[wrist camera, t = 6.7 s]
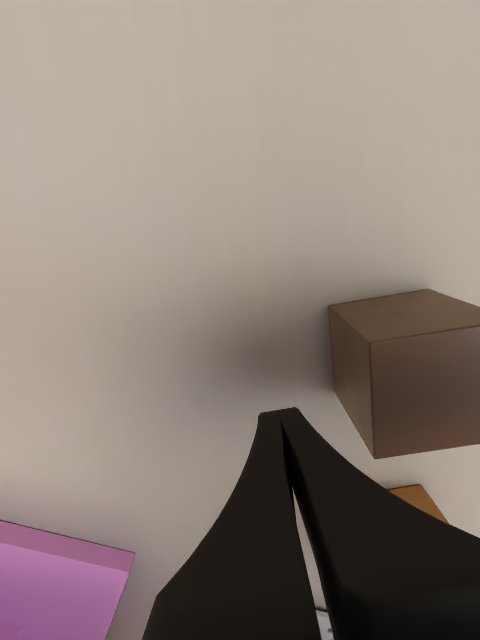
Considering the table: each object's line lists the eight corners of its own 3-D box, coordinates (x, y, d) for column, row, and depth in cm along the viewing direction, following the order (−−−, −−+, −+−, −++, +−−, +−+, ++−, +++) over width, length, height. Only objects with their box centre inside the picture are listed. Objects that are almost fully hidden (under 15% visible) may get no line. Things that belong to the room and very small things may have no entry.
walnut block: (428, 379, 17) (503, 441, 12) (335, 393, 17) (374, 460, 12) (429, 288, 15) (517, 319, 11) (327, 305, 16) (368, 342, 11)
